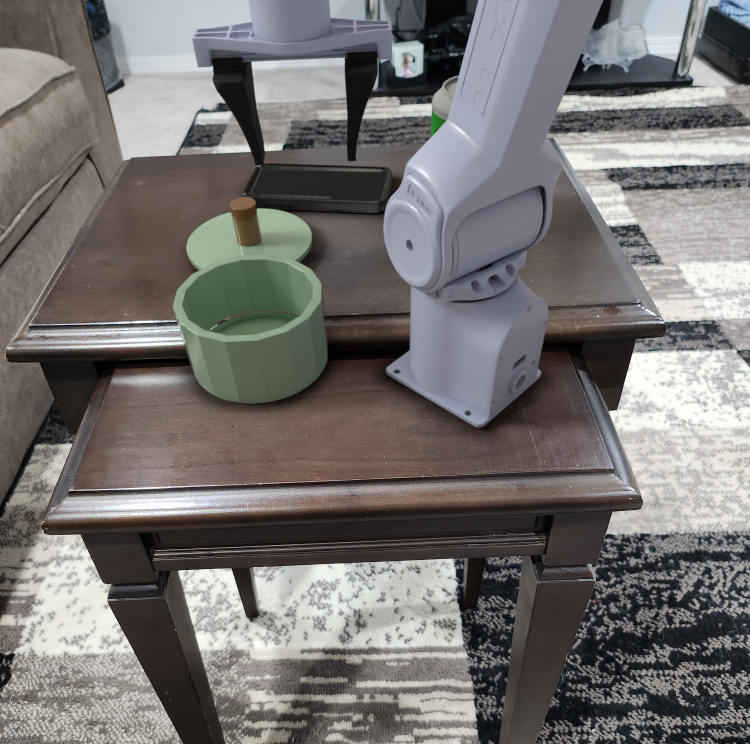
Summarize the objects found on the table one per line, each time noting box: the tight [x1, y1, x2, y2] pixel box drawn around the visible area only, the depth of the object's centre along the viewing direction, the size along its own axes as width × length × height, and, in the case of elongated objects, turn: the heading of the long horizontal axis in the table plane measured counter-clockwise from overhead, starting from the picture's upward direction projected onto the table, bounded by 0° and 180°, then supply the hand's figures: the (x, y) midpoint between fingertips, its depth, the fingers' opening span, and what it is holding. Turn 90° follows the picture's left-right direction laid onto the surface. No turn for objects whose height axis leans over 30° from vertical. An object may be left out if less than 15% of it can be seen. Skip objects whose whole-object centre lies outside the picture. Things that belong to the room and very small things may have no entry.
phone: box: [242, 162, 393, 214], centre depth 71 cm, size 8×1×15 cm
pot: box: [172, 254, 329, 404], centre depth 52 cm, size 11×11×6 cm
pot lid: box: [185, 196, 313, 271], centre depth 63 cm, size 12×12×5 cm
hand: (305, 157), depth 56 cm, fingers open, 7 cm apart
